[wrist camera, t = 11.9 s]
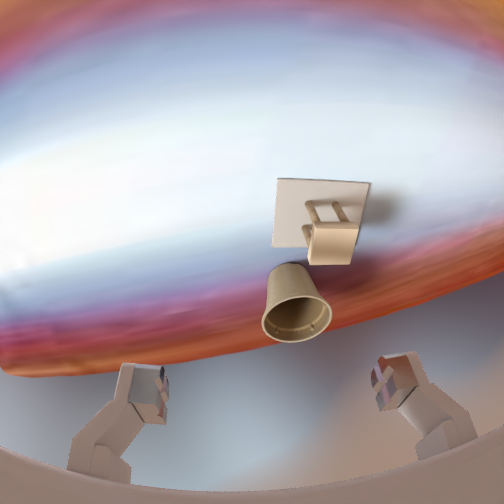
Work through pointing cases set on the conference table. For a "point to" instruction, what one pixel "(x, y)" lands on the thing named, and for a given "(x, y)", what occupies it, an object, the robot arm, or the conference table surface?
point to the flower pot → (294, 305)
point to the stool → (329, 237)
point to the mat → (322, 196)
